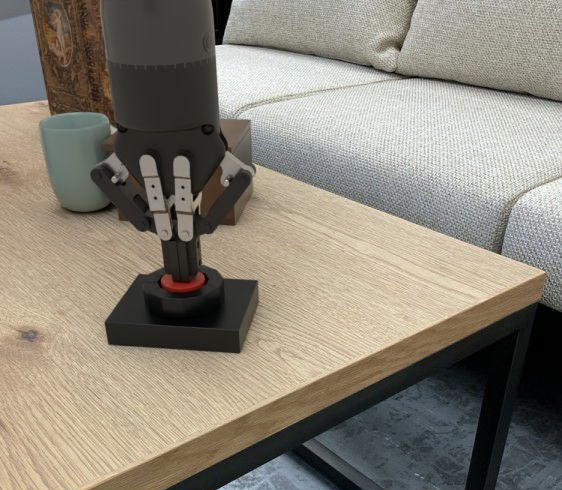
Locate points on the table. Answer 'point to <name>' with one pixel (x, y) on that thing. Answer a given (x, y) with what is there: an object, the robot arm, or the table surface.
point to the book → (73, 56)
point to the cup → (75, 157)
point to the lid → (230, 128)
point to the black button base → (184, 314)
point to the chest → (217, 185)
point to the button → (182, 283)
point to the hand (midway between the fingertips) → (184, 277)
